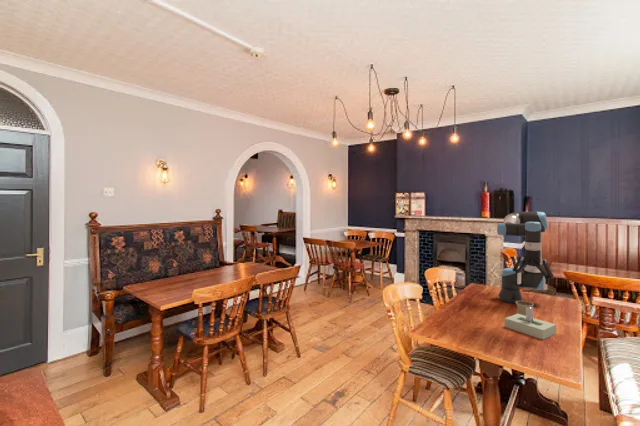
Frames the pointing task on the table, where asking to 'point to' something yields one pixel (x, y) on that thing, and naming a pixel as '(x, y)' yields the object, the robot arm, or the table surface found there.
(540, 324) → the slot block
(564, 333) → the table surface
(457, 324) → the table surface
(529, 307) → the pin
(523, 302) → the flower pot
